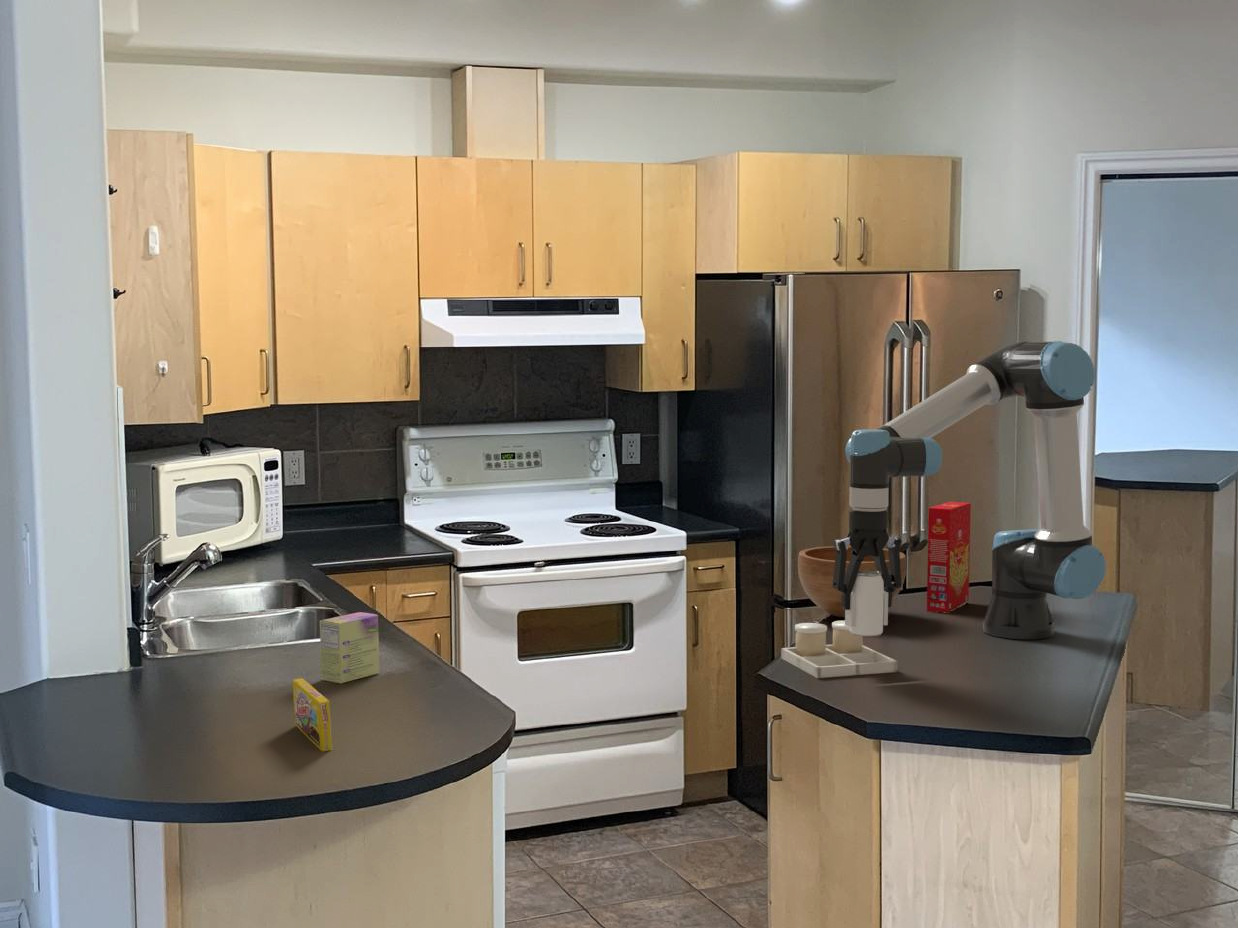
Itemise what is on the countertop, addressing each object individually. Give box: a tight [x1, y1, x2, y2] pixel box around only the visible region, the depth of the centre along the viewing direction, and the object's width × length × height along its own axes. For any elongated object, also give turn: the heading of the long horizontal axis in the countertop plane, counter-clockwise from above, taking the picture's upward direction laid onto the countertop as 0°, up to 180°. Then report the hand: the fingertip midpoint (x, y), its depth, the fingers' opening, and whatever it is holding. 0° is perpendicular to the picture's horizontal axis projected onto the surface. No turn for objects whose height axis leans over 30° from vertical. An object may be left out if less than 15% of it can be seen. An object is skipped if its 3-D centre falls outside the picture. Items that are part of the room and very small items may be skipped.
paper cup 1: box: [794, 622, 828, 657], centre depth 273 cm, size 6×6×7 cm
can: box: [850, 571, 884, 637], centre depth 267 cm, size 6×6×12 cm
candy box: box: [292, 677, 333, 752], centre depth 223 cm, size 16×2×8 cm, turn 28°
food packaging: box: [926, 501, 972, 614], centre depth 329 cm, size 15×5×25 cm, turn 147°
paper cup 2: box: [831, 619, 864, 654], centre depth 276 cm, size 6×6×7 cm
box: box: [319, 611, 380, 684], centre depth 263 cm, size 10×6×12 cm, turn 145°
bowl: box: [797, 545, 907, 619], centre depth 318 cm, size 25×25×15 cm
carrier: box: [780, 643, 899, 679], centre depth 271 cm, size 17×17×2 cm
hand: (866, 624), depth 267 cm, fingers closed on can, 6 cm apart
